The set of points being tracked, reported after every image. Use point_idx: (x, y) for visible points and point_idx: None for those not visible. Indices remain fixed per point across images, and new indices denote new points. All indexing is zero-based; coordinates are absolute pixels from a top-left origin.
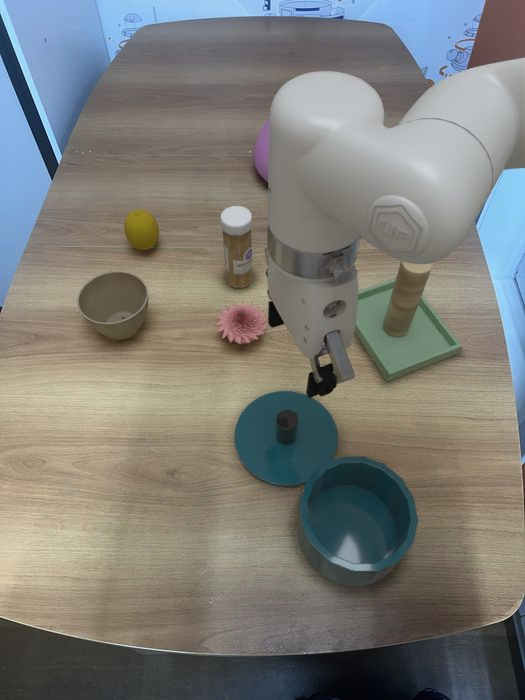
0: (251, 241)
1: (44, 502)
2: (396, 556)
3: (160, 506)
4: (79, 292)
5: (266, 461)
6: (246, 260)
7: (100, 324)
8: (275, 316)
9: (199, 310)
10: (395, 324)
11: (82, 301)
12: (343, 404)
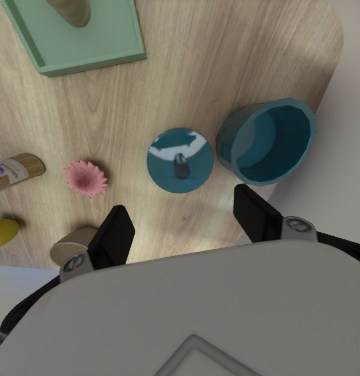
0: None
1: None
2: (313, 133)
3: (198, 223)
4: None
5: (193, 179)
6: (6, 170)
7: None
8: (128, 246)
9: (73, 196)
10: (74, 2)
11: None
12: (162, 113)
